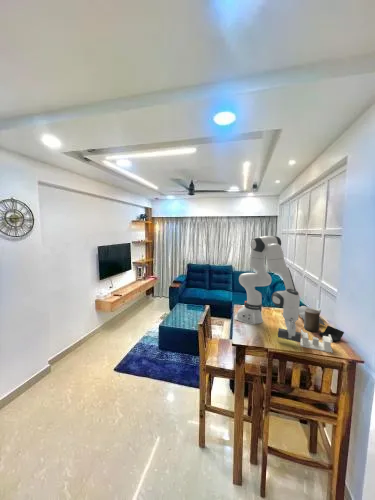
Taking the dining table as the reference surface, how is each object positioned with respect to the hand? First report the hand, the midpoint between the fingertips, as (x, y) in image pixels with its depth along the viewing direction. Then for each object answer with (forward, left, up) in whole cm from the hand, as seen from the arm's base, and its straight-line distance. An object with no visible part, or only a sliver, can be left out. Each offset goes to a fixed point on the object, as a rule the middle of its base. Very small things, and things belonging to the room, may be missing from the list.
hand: (289, 335), depth 139 cm
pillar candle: (+15, +31, -6) cm, 35 cm away
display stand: (+15, +4, -5) cm, 17 cm away
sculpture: (+16, +53, -6) cm, 56 cm away
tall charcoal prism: (0, 0, -2) cm, 2 cm away
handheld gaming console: (+24, +19, -6) cm, 31 cm away
